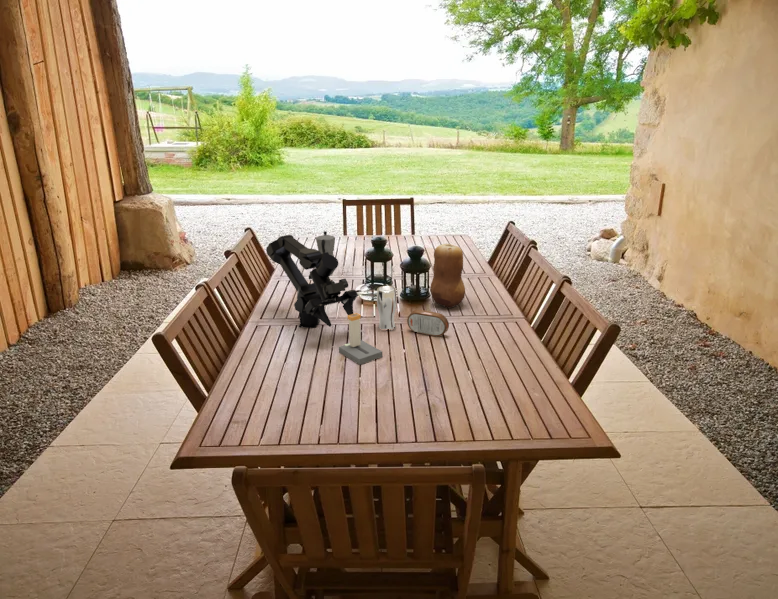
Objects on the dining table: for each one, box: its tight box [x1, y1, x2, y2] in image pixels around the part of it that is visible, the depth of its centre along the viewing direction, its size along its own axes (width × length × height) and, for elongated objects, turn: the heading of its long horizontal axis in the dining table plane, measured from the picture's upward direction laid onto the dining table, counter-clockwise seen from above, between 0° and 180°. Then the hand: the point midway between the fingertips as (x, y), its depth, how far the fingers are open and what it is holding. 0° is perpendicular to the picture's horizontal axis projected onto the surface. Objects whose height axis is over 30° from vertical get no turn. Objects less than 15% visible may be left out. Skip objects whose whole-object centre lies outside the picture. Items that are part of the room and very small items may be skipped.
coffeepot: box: [315, 231, 336, 257], centre depth 279 cm, size 15×9×18 cm, turn 178°
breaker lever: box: [347, 312, 362, 347], centre depth 190 cm, size 2×4×11 cm, turn 128°
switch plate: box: [338, 339, 383, 365], centre depth 190 cm, size 12×9×2 cm
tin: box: [406, 309, 450, 337], centre depth 204 cm, size 15×3×8 cm, turn 65°
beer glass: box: [376, 285, 397, 329], centre depth 209 cm, size 7×7×15 cm
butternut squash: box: [429, 243, 466, 309], centre depth 228 cm, size 14×13×25 cm
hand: (341, 323), depth 196 cm, fingers open, 9 cm apart
